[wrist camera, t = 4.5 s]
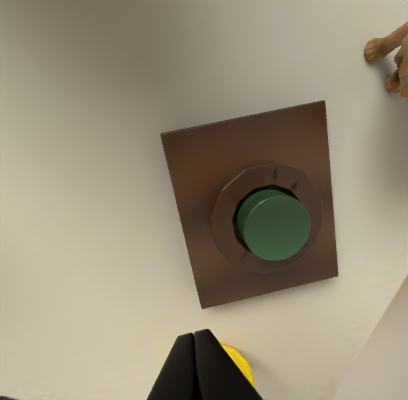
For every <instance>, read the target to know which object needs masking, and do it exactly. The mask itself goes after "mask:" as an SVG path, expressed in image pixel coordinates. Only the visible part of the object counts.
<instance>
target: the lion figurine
mask: <svg viewBox="0 0 408 400" xmlns="http://www.w3.org/2000/svg"><path fill="white" fill-rule="evenodd" d="M400 45H402V47H401V48H400V49H399V51H398V53H397V54H396V55H395V57H394V58H395V59H394V62H395V63H396V64H397V68H398V69H397V70H396V71H395V72H394V73H393V74H392V75H390V76H389V77H388V79H387V80H386V89H387V90H389V91H390V92H392V93H394V92H395V93H398V92H401V96H402V97H403V98H406V99H407V100H408V22H407V23H405V24H404V25H403V26H401V27H399V28H398V29H396V30H395V31H394V32H392V33H391V34H390V35H389V36H387V37H384V38H374V39H372V40H370V41H369V42H368V43H367V45H366V47H365V50H364V54H365V56H366V58H367V59H368V60H369V61H371V60H375V59H377V58H382V57H385V56H386V55H387V54H389V53H390V52H391V51H392V50H394V49H395V48H397V47H399V46H400Z"/></svg>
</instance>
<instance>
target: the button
mask: <svg viewBox="0 0 408 400" xmlns="http://www.w3.org/2000/svg"><path fill="white" fill-rule="evenodd" d="M237 227H238V231H239V233H240V235H241V237H242V239H243V240H244V242H245V243H246V245H247V246H248V248H249V249H250V250H251V251H252V252H253V253H254V254H255V255H256V256H258V257H260V258H262V259H265V260H270V261H279V260H283V259H287V258H289V257H291V256H293V255H294V254H296V253H297V252H298V251H299V250H300V249H301V248H302V247H303V246H304V244H305V243H306V241H307V239H308V237H309V234H310V229H311V221H310V216H309V213H308V211H307V209H306V208H305V206H304V205H303V204H302V203H301V202H299V201H298V200H296V199H295V198H293V197H291V196H289V195H286V194H284V193H282V192H280V191H277V190H262V191H259V192H257V193H255V194H253V195H251V196H250V197H249V198H248V199H246V200H245V202H244V203H243V204H242V206H241V208H240V210H239V212H238V216H237Z"/></svg>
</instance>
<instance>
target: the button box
mask: <svg viewBox="0 0 408 400" xmlns="http://www.w3.org/2000/svg"><path fill="white" fill-rule="evenodd" d="M161 139H162V144H163V148H164V152H165V156H166V160H167V165H168V169H169V173H170V177H171V182H172V186H173V190H174V194H175V199H176V203H177V207H178V211H179V215H180V220H181V224H182V228H183V232H184V237H185V241H186V245H187V249H188V254H189V258H190V262H191V266H192V271H193V275H194V279H195V283H196V287H197V292H198V296H199V300H200V304H201V308H202V309H205V308H209V307H213V306H217V305H221V304H226V303H230V302H234V301H238V300H242V299H246V298H250V297H254V296H259V295H263V294H267V293H271V292H275V291H279V290H283V289H287V288H292V287H296V286H300V285H304V284H308V283H312V282H316V281H320V280H325V279H329V278H333V277H337V276H338V265H337V252H336V239H335V225H334V212H333V199H332V185H331V172H330V159H329V146H328V132H327V119H326V106H325V101H324V100H322V101H318V102H313V103H308V104H303V105H298V106H293V107H288V108H283V109H278V110H274V111H269V112H264V113H259V114H254V115H249V116H244V117H239V118H235V119H230V120H225V121H220V122H215V123H210V124H205V125H200V126H195V127H191V128H186V129H181V130H176V131H171V132H166V133H162V134H161ZM262 190H277V191H280V192H282V193H284V194H286V195H289V196H291V197H293V198H295V199H296V200H298V201H299V202H301V203H302V204H303V205H304V206H305V208H306V209H307V211H308V213H309V216H310V221H311V229H310V234H309V237H308V239H307V241H306V243H305V244H304V246H303V247H302V248H301V249H300V250H299V251H298V252H297V253H296V254H294V255H293V256H291V257H289V258H287V259H283V260H279V261H270V260H265V259H262V258H260V257H258V256H256V255H255V254H254V253H253V252H252V251H251V250H250V249H249V248H248V246H247V245H246V243H245V242H244V240H243V239H242V237H241V235H240V233H239V231H238V227H237V216H238V212H239V210H240V208H241V206H242V204H243V203H244V202H245V200H246V199H248V198H249V197H250V196H251V195H253V194H255V193H257V192H259V191H262Z"/></svg>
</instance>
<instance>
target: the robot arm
mask: <svg viewBox="0 0 408 400" xmlns="http://www.w3.org/2000/svg"><path fill="white" fill-rule="evenodd" d="M147 400H263V399H262V397H261V396H260V395H259V393H258V392H257V391H256V390H255V388H254V387H253V386H252V384H251V383H250V382H249V380H248V379H247V378H246V377H245V375H244V374H243V373H242V371H241V370H240V369H239V367H238V366H237V365H236V364H235V362H234V361H233V360H232V358H231V357H230V356H229V354H228V353H227V352H226V350H225V349H224V348H223V347H222V345H221V344H220V343H219V341H218V340H217V339H216V337H215V336H214V335H213V334H212V332H211V331H210V330H209V329H204V330H200V331H196V332H195V333H194V334H193V333H188V334H184V335H180V336H178V337H177V339H176V341H175V343H174V345H173V347H172V349H171V351H170V353H169V355H168V357H167V359H166V361H165V363H164V365H163V368H162V370H161V372H160V374H159V376H158V378H157V380H156V382H155V384H154V386H153V388H152V390H151V392H150V394H149V396H148V398H147Z"/></svg>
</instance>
